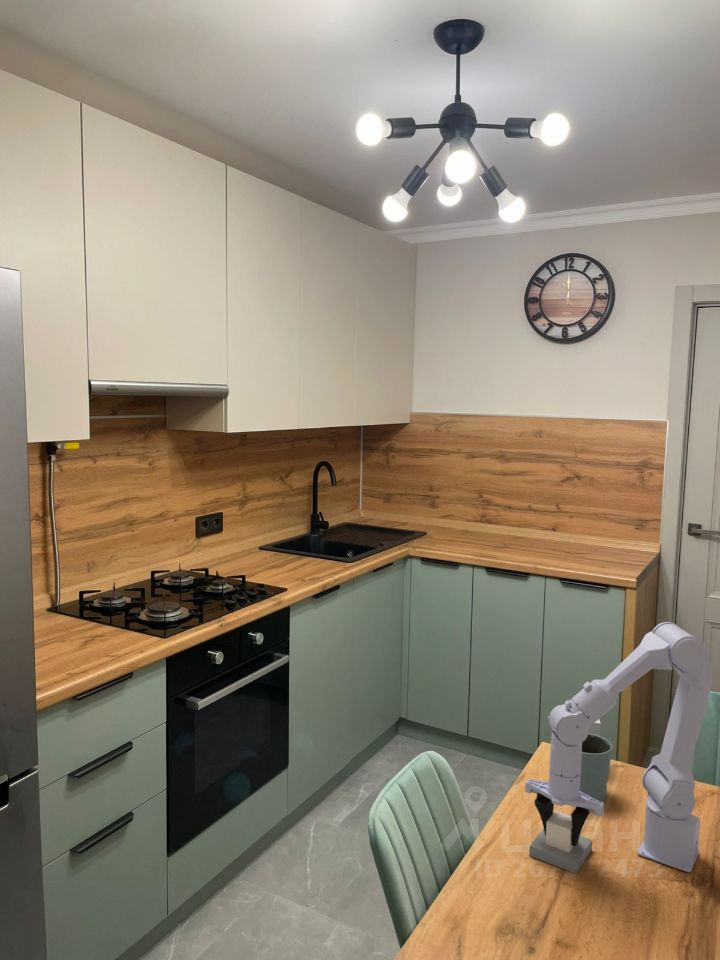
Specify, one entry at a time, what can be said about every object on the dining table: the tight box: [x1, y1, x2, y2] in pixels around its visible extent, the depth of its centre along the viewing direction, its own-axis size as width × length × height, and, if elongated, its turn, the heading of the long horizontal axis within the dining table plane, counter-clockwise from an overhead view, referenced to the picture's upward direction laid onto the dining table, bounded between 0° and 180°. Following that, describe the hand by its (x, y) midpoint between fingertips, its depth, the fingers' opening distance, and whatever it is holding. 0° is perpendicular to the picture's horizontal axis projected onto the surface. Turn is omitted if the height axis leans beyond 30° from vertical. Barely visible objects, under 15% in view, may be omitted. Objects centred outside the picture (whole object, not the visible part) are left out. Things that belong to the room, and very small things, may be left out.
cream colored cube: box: [546, 810, 574, 853], centre depth 138 cm, size 5×5×4 cm
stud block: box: [529, 827, 593, 875], centre depth 138 cm, size 9×9×4 cm
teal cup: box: [580, 733, 613, 803], centre depth 159 cm, size 10×10×12 cm
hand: (561, 838), depth 138 cm, fingers closed on cream colored cube, 5 cm apart
